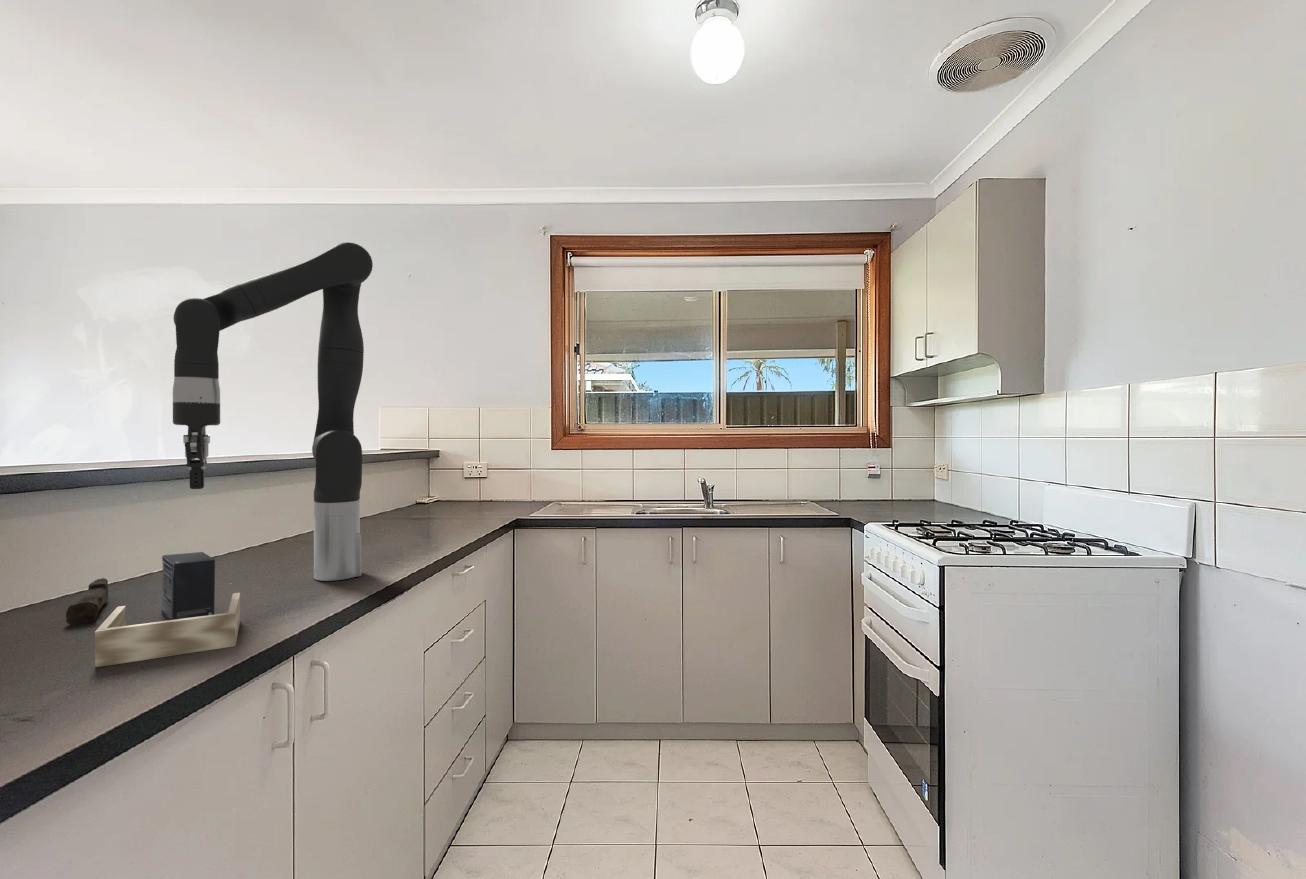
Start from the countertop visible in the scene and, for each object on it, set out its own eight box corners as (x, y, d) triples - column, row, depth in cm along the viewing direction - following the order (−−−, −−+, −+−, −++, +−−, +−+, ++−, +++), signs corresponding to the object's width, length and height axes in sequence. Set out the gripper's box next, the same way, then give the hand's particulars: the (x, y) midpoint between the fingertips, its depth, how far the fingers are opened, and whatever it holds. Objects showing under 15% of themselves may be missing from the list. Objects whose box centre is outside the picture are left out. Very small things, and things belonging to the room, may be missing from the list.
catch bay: (240, 621, 104) (240, 592, 104) (235, 645, 92) (235, 613, 92) (117, 637, 95) (117, 606, 95) (95, 667, 83) (95, 631, 83)
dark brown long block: (97, 624, 103) (97, 597, 103) (65, 627, 101) (65, 600, 101) (122, 598, 119) (122, 574, 119) (95, 601, 117) (95, 577, 117)
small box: (217, 617, 106) (217, 558, 106) (170, 625, 101) (170, 563, 101) (204, 605, 113) (204, 549, 113) (160, 612, 109) (160, 554, 109)
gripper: (217, 400, 115) (217, 490, 115) (222, 403, 126) (222, 485, 127) (167, 399, 111) (167, 492, 111) (177, 402, 122) (177, 486, 123)
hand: (197, 488), depth 119 cm, fingers closed
